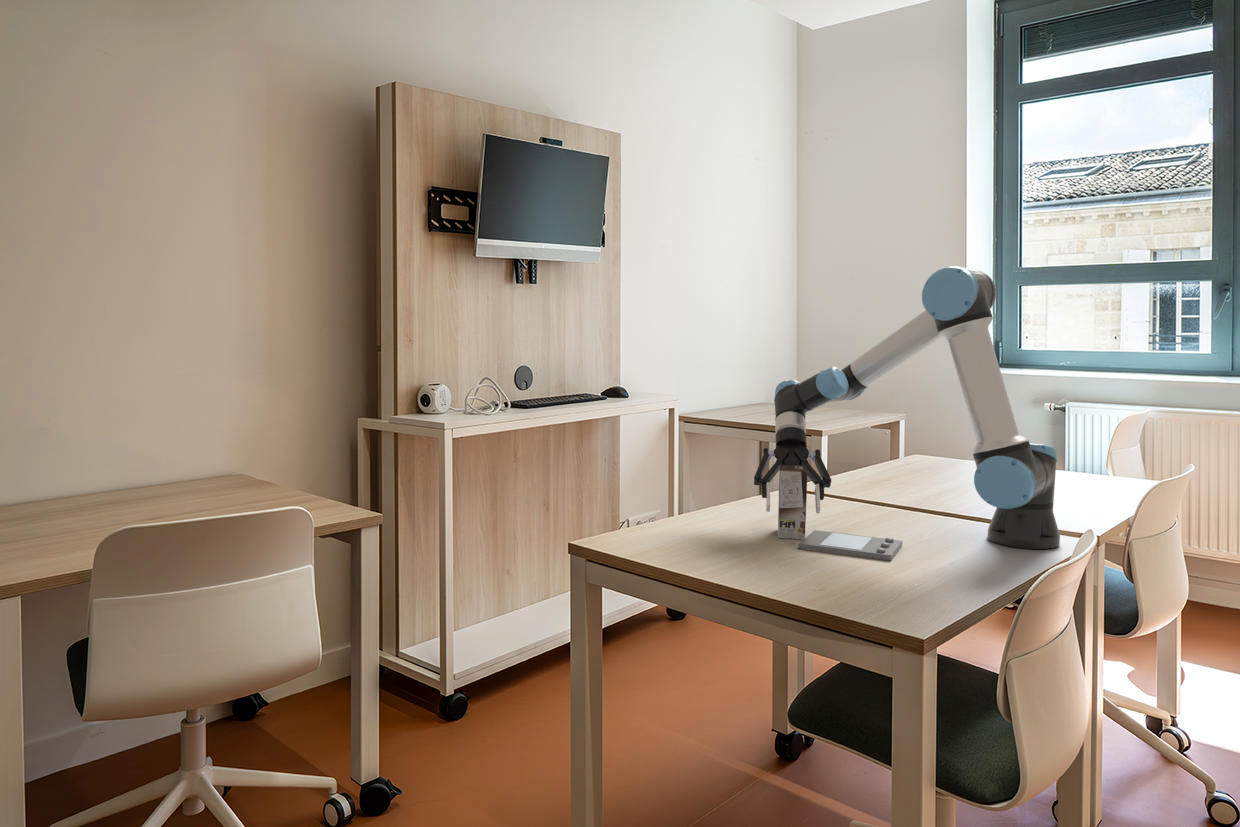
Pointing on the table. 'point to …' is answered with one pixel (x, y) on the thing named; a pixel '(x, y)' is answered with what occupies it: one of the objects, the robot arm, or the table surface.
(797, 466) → the coffee box
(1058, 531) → the robot arm
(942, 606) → the table surface
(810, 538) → the control panel
